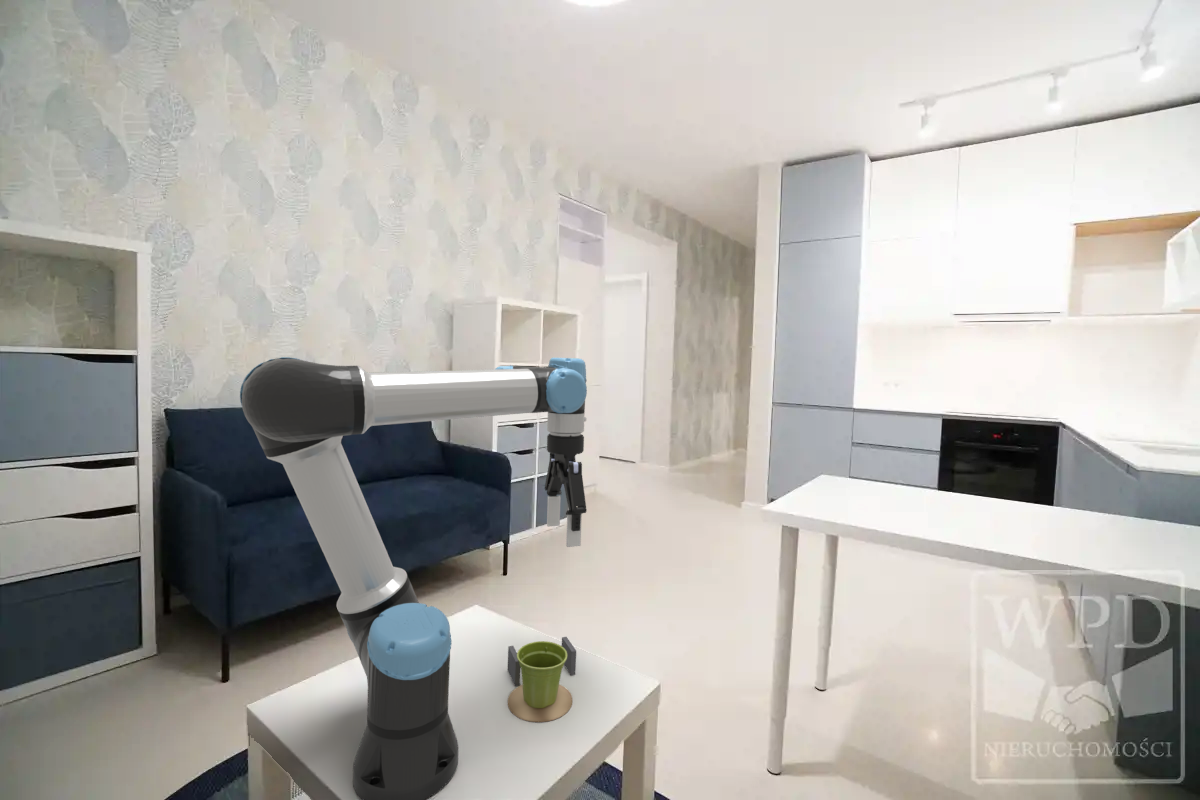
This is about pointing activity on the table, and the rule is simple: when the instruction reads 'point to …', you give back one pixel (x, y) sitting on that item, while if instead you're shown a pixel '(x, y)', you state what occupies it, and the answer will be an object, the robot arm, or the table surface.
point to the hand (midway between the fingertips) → (562, 535)
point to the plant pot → (541, 672)
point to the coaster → (539, 714)
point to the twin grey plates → (515, 667)
